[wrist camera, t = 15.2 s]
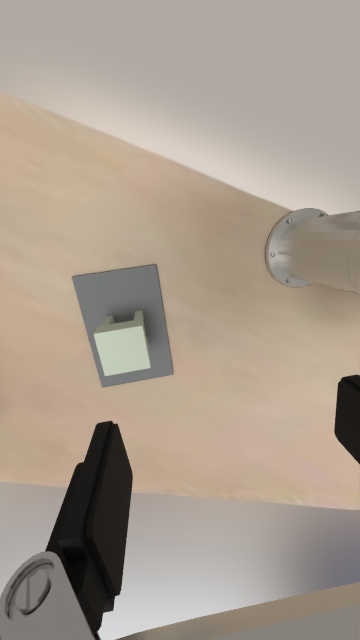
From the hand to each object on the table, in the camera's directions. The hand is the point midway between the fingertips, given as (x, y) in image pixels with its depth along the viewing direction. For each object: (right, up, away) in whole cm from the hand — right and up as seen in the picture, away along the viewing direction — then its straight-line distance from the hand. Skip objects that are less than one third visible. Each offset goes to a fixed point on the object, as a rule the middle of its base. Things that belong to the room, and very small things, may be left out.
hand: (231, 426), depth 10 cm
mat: (-11, +3, +31) cm, 33 cm away
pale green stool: (-11, +3, +30) cm, 32 cm away
